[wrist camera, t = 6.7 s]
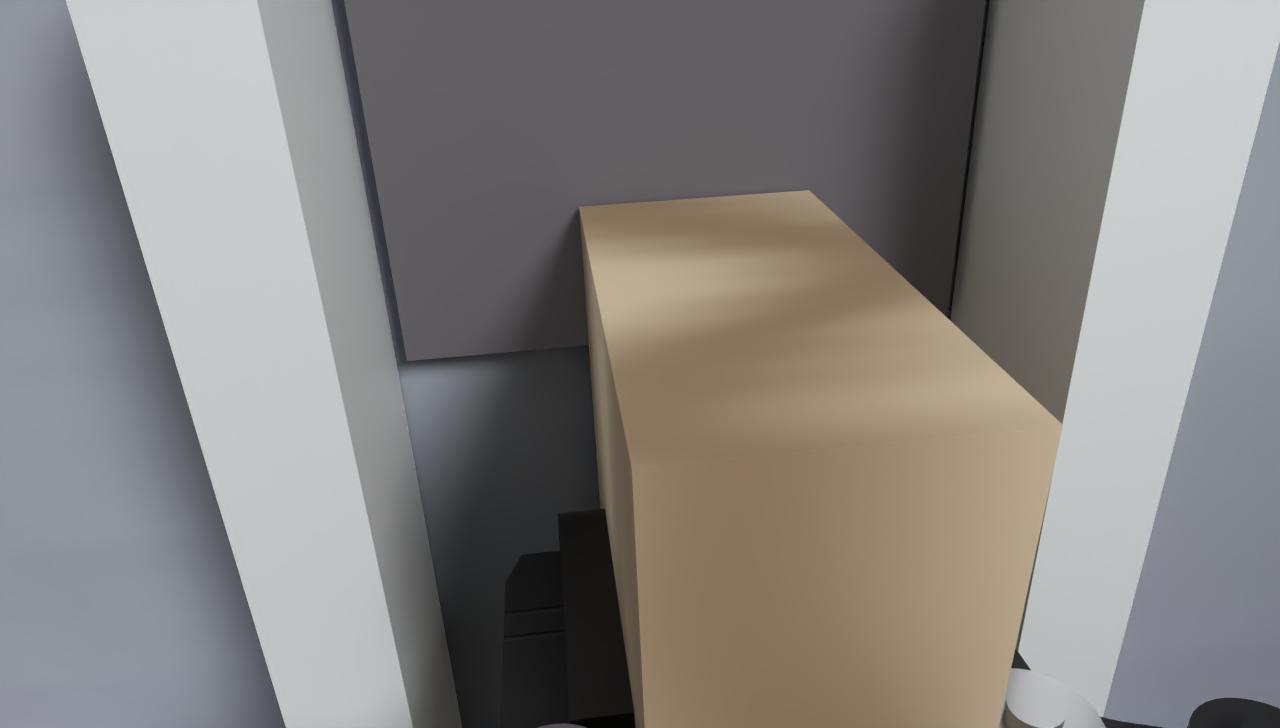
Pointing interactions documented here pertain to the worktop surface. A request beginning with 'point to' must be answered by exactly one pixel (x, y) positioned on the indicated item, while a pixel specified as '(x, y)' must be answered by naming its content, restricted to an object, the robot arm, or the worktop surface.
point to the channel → (644, 172)
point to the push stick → (802, 474)
